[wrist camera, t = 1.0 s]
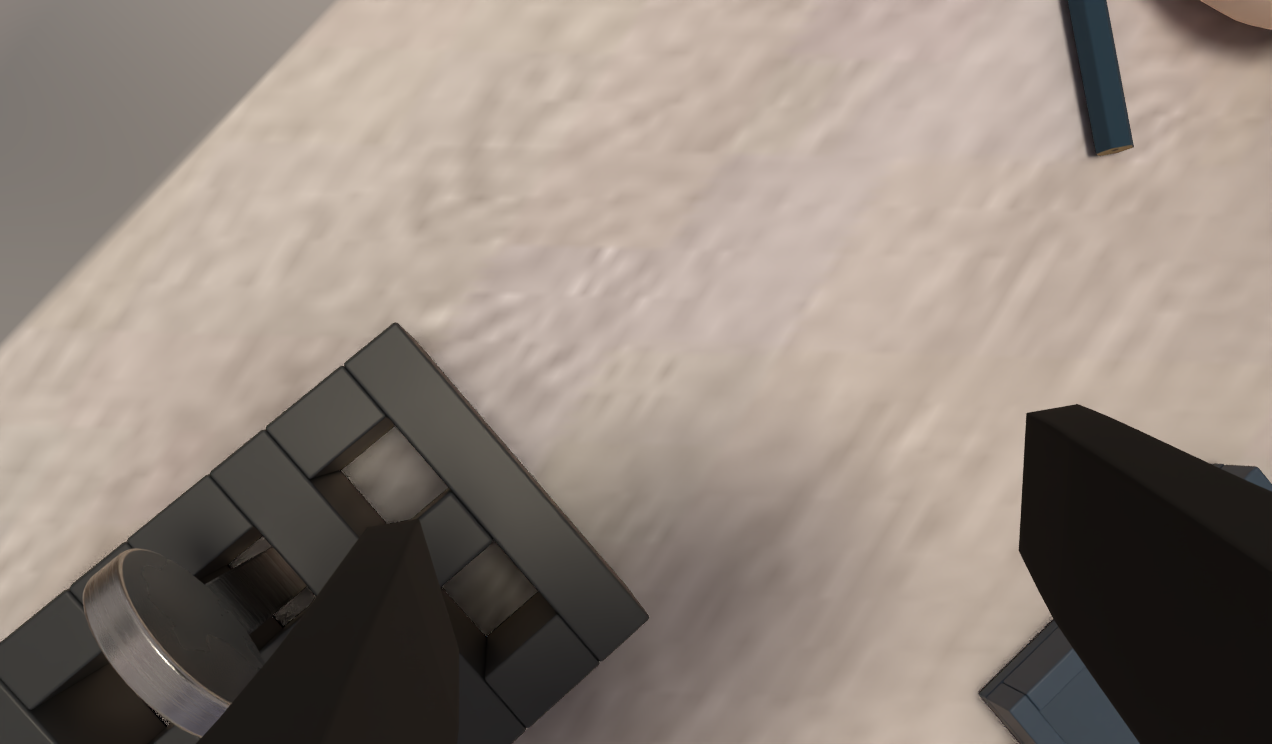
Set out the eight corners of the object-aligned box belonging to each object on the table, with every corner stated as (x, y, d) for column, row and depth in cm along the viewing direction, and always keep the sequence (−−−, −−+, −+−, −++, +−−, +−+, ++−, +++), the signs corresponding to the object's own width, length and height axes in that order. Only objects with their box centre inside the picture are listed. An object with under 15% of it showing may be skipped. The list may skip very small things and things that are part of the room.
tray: (1239, 1005, 26) (1286, 1042, 25) (977, 693, 26) (1008, 711, 24) (1459, 765, 28) (1517, 786, 26) (1214, 462, 27) (1258, 465, 25)
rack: (255, 919, 23) (204, 1022, 19) (19, 658, 23) (-82, 708, 19) (627, 586, 25) (651, 618, 21) (412, 336, 24) (395, 320, 20)
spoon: (324, 630, 24) (204, 774, 14) (230, 524, 24) (43, 595, 14) (347, 610, 24) (243, 740, 14) (254, 504, 24) (84, 562, 14)
